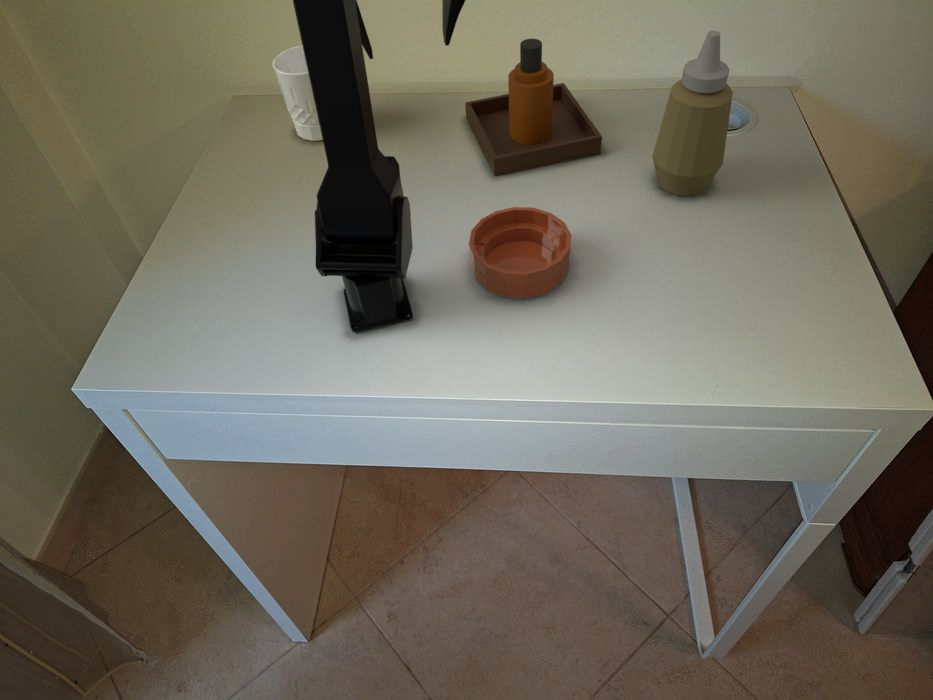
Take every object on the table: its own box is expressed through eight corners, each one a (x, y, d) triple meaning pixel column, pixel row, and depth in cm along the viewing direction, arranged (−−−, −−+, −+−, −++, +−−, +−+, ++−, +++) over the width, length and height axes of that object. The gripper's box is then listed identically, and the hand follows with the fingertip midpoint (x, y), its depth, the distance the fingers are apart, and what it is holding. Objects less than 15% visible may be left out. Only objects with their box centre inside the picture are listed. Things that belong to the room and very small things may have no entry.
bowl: (583, 288, 71) (585, 260, 68) (486, 311, 70) (484, 283, 67) (550, 227, 78) (551, 198, 75) (461, 246, 77) (458, 218, 74)
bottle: (557, 139, 88) (561, 49, 79) (516, 148, 88) (515, 58, 79) (543, 117, 92) (545, 29, 83) (504, 126, 91) (501, 37, 82)
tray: (600, 153, 87) (602, 136, 85) (494, 176, 85) (493, 159, 83) (563, 99, 96) (563, 82, 94) (466, 118, 94) (464, 102, 92)
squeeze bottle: (666, 209, 79) (696, 58, 65) (636, 170, 84) (658, 23, 70) (729, 194, 80) (772, 43, 66) (696, 157, 85) (730, 9, 71)
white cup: (339, 145, 92) (323, 74, 84) (285, 143, 93) (263, 73, 85) (354, 113, 97) (340, 44, 89) (302, 112, 98) (284, 44, 90)
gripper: (459, -135, 75) (468, 10, 87) (292, -110, 73) (324, 35, 85) (485, -105, 68) (491, 48, 80) (300, -76, 66) (334, 77, 78)
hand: (409, 50), depth 81 cm, fingers open, 9 cm apart
